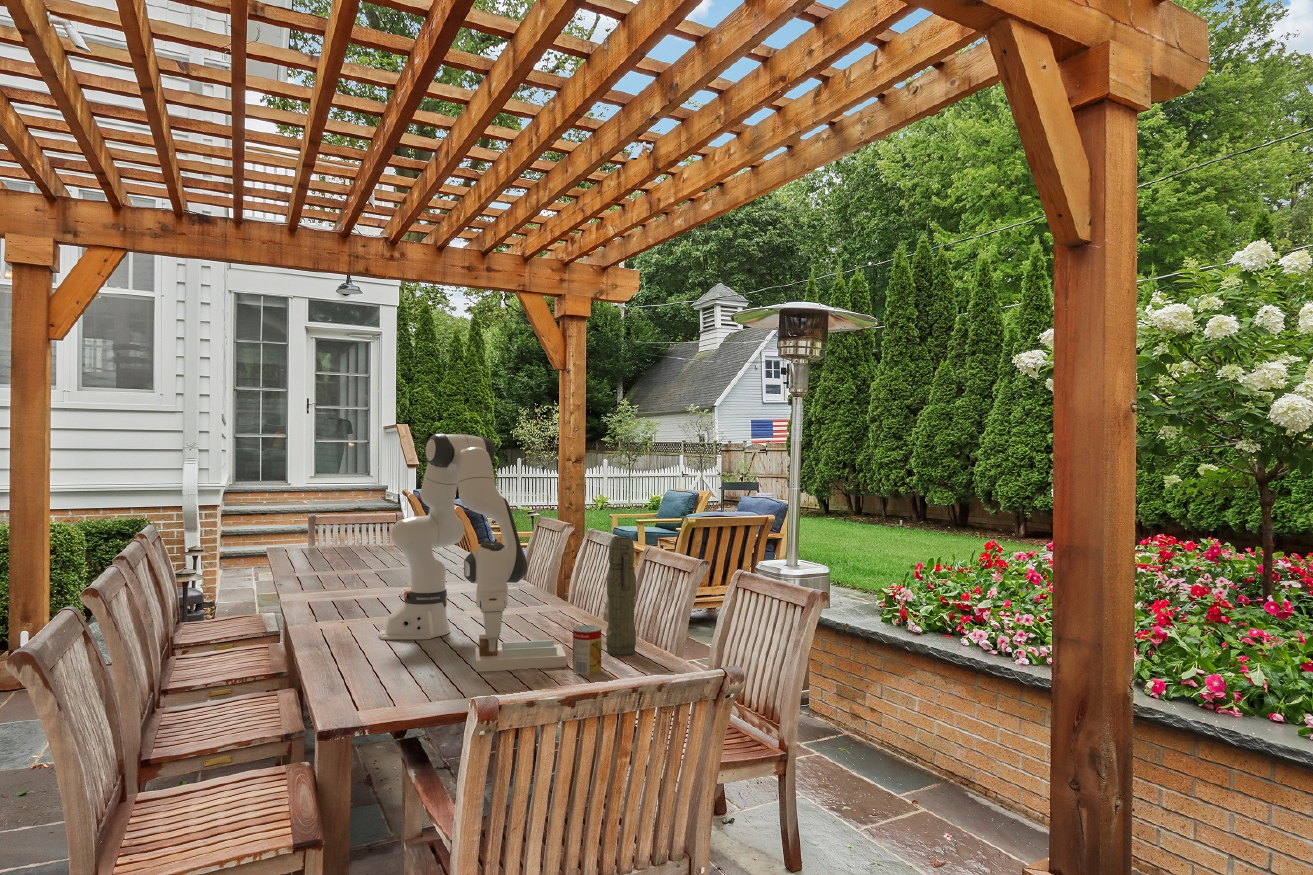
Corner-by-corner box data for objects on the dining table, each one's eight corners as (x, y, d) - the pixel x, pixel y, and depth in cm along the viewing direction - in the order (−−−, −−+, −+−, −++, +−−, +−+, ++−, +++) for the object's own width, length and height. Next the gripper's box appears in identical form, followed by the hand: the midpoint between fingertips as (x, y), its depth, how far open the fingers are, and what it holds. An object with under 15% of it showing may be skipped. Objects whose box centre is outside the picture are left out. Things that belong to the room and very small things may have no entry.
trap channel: (475, 671, 225) (475, 653, 225) (475, 658, 238) (475, 641, 238) (566, 666, 230) (566, 648, 230) (560, 654, 244) (560, 637, 244)
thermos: (615, 658, 239) (616, 539, 239) (600, 649, 249) (600, 535, 250) (642, 655, 243) (643, 538, 243) (626, 646, 253) (626, 534, 254)
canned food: (604, 668, 228) (604, 625, 229) (596, 676, 221) (596, 632, 221) (577, 666, 230) (578, 624, 230) (568, 674, 223) (569, 630, 223)
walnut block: (479, 656, 229) (479, 638, 229) (479, 652, 234) (479, 634, 234) (497, 655, 230) (497, 637, 230) (496, 651, 235) (496, 633, 235)
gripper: (480, 593, 242) (479, 639, 242) (481, 606, 222) (481, 657, 222) (501, 592, 243) (501, 638, 243) (504, 606, 223) (504, 656, 223)
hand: (491, 648), depth 232 cm, fingers closed on walnut block, 5 cm apart
